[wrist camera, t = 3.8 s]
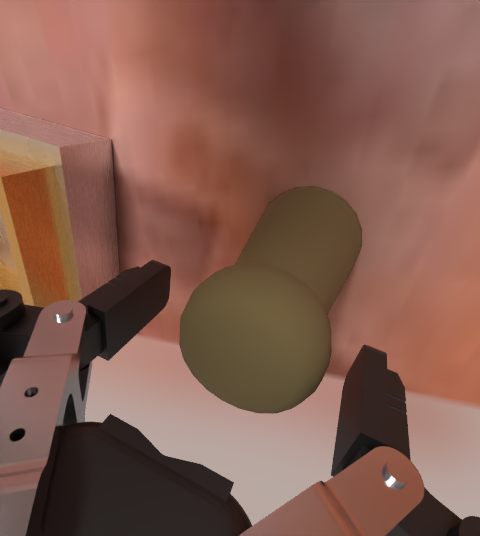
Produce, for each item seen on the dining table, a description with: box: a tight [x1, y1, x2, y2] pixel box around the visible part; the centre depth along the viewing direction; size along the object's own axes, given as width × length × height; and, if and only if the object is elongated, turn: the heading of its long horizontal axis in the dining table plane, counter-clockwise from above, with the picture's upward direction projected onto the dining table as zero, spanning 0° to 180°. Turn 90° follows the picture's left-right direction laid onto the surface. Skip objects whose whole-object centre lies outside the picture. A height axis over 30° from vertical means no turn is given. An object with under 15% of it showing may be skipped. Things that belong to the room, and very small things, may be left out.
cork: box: [179, 187, 362, 413], centre depth 14 cm, size 6×6×11 cm
